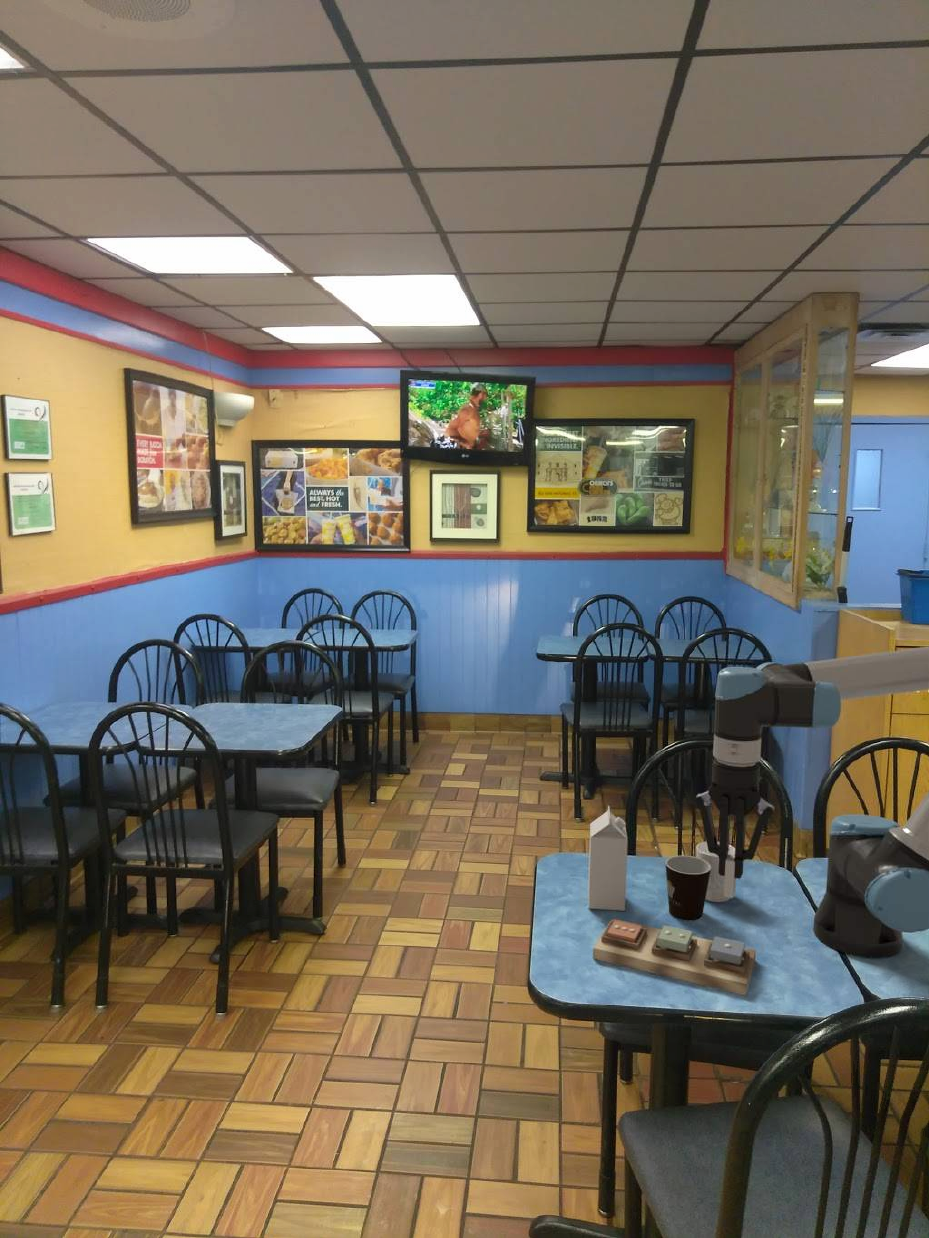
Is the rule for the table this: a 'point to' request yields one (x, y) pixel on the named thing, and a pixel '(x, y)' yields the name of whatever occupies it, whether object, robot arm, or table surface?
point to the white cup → (713, 873)
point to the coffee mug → (687, 886)
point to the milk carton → (607, 863)
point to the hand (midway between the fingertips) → (729, 894)
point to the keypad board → (676, 960)
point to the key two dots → (674, 938)
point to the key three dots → (625, 931)
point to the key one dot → (727, 950)
